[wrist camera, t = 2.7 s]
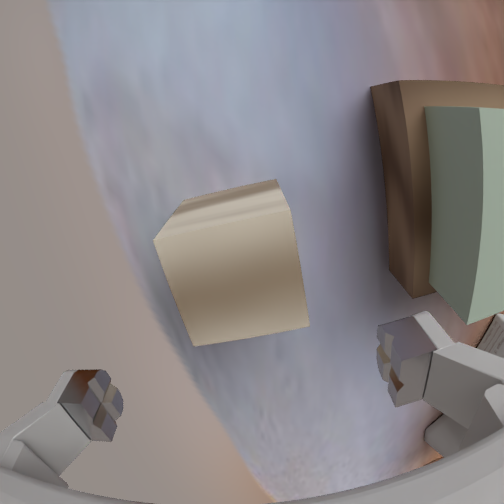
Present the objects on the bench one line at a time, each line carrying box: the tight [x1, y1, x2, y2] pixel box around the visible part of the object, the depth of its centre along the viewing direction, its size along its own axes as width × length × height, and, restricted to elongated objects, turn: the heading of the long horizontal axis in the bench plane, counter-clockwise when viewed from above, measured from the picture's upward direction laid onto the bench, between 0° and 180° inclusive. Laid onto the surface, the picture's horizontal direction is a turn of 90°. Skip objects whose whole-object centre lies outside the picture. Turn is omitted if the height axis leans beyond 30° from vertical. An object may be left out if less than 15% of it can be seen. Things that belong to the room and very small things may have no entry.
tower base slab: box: [371, 80, 504, 299], centre depth 14 cm, size 11×11×4 cm
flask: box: [424, 414, 468, 458], centre depth 22 cm, size 7×7×10 cm
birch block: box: [153, 179, 310, 346], centre depth 15 cm, size 5×5×6 cm
